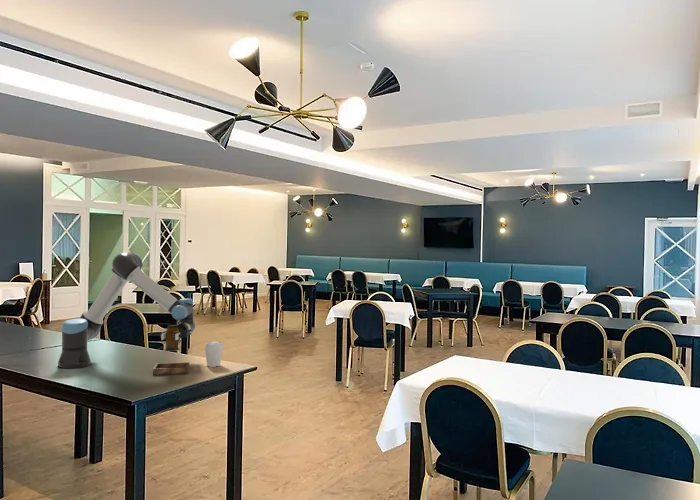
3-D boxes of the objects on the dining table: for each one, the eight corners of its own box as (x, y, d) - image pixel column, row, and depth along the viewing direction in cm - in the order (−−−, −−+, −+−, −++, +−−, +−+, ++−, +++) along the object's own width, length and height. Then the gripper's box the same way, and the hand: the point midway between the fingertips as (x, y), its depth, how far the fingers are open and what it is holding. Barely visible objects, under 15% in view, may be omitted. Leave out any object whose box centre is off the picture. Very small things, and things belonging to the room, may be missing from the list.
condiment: (178, 347, 279) (178, 324, 279) (181, 350, 272) (181, 326, 271) (163, 348, 276) (163, 324, 276) (165, 351, 268) (165, 327, 268)
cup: (219, 367, 284) (220, 344, 284) (202, 367, 284) (202, 344, 284) (224, 364, 293) (224, 341, 293) (207, 363, 293) (207, 341, 293)
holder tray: (152, 375, 266) (152, 368, 266) (156, 369, 279) (156, 363, 278) (187, 374, 269) (187, 367, 269) (189, 368, 282) (189, 362, 282)
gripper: (199, 337, 292) (188, 345, 269) (163, 336, 291) (149, 344, 268) (199, 323, 292) (188, 329, 269) (163, 322, 291) (149, 329, 268)
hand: (169, 337), depth 269 cm, fingers closed on condiment, 6 cm apart
